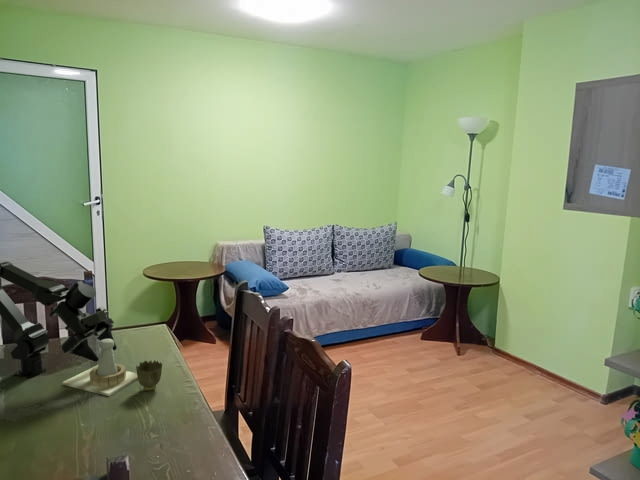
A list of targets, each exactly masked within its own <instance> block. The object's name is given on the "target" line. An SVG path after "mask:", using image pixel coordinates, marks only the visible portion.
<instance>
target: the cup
mask: <svg viewBox="0 0 640 480" xmlns="http://www.w3.org/2000/svg"><path fill="white" fill-rule="evenodd" d="M135 366H136V367H135V369H136V373H137V376H138V383H139V385H140V386H141V387H143V388H142V389H143V391H145V392H147V393H149V392H153V391H155V390H156V389H157V385H158V384H159V383H160V380H161V379H162V378H161V377H162V369H163V363H162V361H158V360H157V361H156V360H153V361H152V360H149V361H148V360H144V361H143V362H142V361H140V362H139V365H135Z"/></svg>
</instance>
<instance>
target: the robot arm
mask: <svg viewBox="0 0 640 480" xmlns="http://www.w3.org/2000/svg"><path fill="white" fill-rule="evenodd" d="M2 279H3V280H6V281H7V282H9V283H10V284H13V285H15V286H17V287H18V288H21V289H23V290H25V291H27V292H28V293H30V294H31V295H32V296H33V297H32V298H34V299H35V301H37V302H38V303H40V304H41V305H43V306H44V307H49V306H52V305H54V304H57V303H58V304H57V305H54V306H52V307H50V312H49V317H50V318H52V317H54V316H56V315H57V317H58V318H59V319H60V320H61V321H62V322H63V323H64V324H65V325H66V326H65V327H64V329H65V330H66V331H69V330H70V331H71V332H72V333H73V334H72V335H70V336H69V337H68V338H67V339H66V340H65V341H64V342H63V343H62V344H61V346H60V348H61V352H63V353H64V355H67V354H69V355H76V356H79V357H81V358H84V359H86V360H89V361H92V362H95V363H97V362H99V357H98V355H97V354H96V353H95V352H94V350H93V349H92V348H91V347H90V346H89V342H88V340H89V338H90V337H93V336H96V340H98V341H99V342H100V341H101V340H103V339H112V340H114V338H113V334H112V328H113V327H114V323H115V321H114V320H113V319H112V318H111V317H108V315H109V311H108V310H107V308H105V307H104V306H100V307H98V308H96V309H95V312H93V313H91V314H90V313H89V312H87V311H85V312H83V311H82V310H81V309H84V308H85V307H86V306H87V305H88V304H89V303H90V302H91V301H92V300H93V299H95V297H96V296H97V292H96V290H95V288H94V286H91V285H89V284H87V283H84V282H83V281H82V280H79V281H76V282H75V283H74V284H73V286H72V287H66V286H65V285H63V284H62V283H61V282H56V281H53V280H44V279H42V278H39V277H37V276H35V275H33V274H32V273H29V272H27V271H26V270H23V269H21V268H19V267H17V266H15V265H13V263H11V262H10V261H9V262H8V261H4V262H0V316H1V318H2V319H3V320H4V321H5V323H6V324H7V325H8V326H9V327H10V329H11V330H12V331H13V334H14V335H13V336H14V342H15V344H16V346H15V347H14V348H13V349H12V351H10V355H11V357H12V359H13V360H17V361H18V362H17V363H18V365H17V366H18V371H15V372H13V373H14V375H15V376H19V377H22V378H27V379H29V378H32V377H34V376H36V375H38V374H41V373H43V372H45V371H46V370H47V368H45V367H43V360H42V354H41V352H44V351H45V350H46V349H47V346H48V344H49V343H50V336H49V334H48V330H47V329H45V328H44V326H43V324H42V323H40V322H37V323H35V324H34V323H33V322H30V321H29V320H28V318H27V317H26V316H25V314H24V313H23V312H22V311H21V310H20V308H19V307H18V306H17V305H16V304H15V302H14V301H13V300H12V299H11V298H10V296H9V295H8V294H7V293H6V291H5V290H4V289H3V288H2V286H3V285H2ZM112 349H113V351H116V350H117V349H118V347H117V344H116V342H115V340H114V347H112Z"/></svg>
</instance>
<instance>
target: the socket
mask: <svg viewBox="0 0 640 480" xmlns="http://www.w3.org/2000/svg"><path fill="white" fill-rule="evenodd" d="M116 367H117V371H118V372H117V373H116V374H113V375H109V376H99V375H97V370H98V364H97V365H94V366H93V367H91V368H89V369H86V370H85V371H82V372H81V373H79V374H77V375H75V376H72V377H71V378H68V379H65V380H64V381H62V385H63V386H66V387H67V386H68V387H69V388H70V387H71V388H75V389H79V390H82V391H86V392H91V393H95V394H99V395H103V396H107V397H111V396H112V395H114V394H116V393H117V392H119V391H120V390H122V389H124V388H125V387H127V386H129V385H131V384H132V383H134V382H136V381H137V380H138V376H137V372H133V371H127V368H126V366H125V365H123V364H120V363H116Z"/></svg>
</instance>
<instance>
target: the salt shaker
mask: <svg viewBox="0 0 640 480" xmlns="http://www.w3.org/2000/svg"><path fill="white" fill-rule="evenodd" d="M114 342H115V340H112V339H103V340H101V341H100V340H99V342H98V347H99V349H100V354H99V357H98V359H99V360H98V364H97V365H98V370H97V375H99V376H109V375H113V374H116V373H117V372H118V371H117V367H116V364H117V362H116V360H115V355H114V350H113V349H112V347H114Z"/></svg>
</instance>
